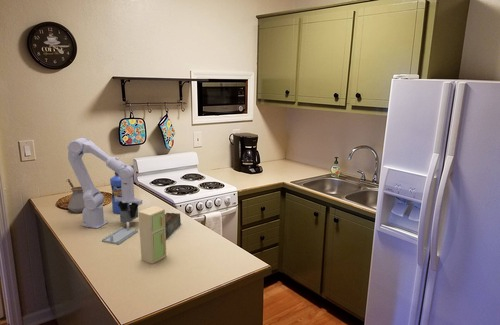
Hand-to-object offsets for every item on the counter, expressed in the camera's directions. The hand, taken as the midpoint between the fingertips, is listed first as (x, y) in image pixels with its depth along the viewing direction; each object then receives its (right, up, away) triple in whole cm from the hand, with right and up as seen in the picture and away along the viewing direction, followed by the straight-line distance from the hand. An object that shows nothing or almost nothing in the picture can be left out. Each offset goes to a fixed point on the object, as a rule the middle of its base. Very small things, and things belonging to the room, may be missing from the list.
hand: (129, 216), depth 175 cm
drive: (0, -2, 0) cm, 2 cm away
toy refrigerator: (+21, -13, -31) cm, 40 cm away
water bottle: (-11, 0, +20) cm, 22 cm away
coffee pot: (-38, +1, +23) cm, 44 cm away
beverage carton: (+20, -7, -5) cm, 22 cm away
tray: (0, -8, -12) cm, 14 cm away
